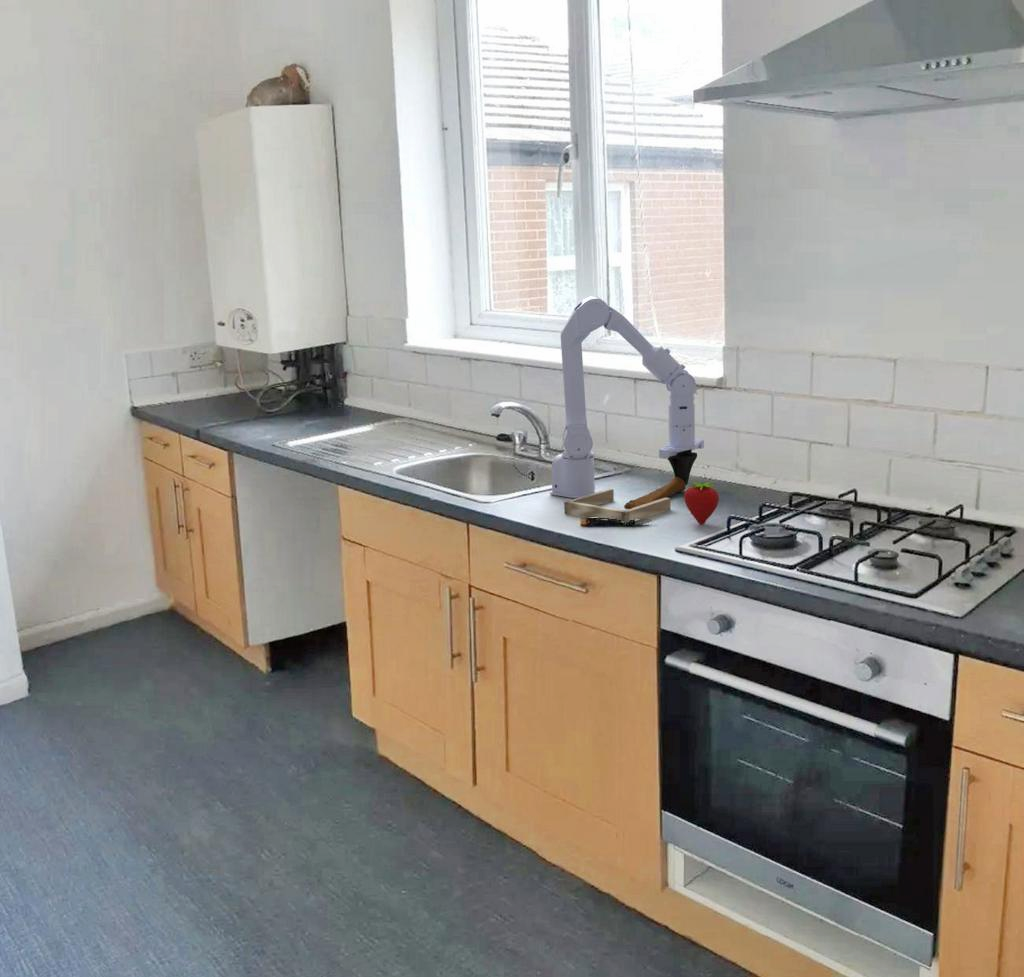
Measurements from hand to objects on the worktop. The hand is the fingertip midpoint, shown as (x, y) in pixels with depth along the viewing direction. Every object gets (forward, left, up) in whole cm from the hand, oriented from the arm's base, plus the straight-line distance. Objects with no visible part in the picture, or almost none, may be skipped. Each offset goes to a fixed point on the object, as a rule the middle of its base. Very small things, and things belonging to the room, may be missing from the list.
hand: (682, 484), depth 246 cm
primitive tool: (+1, -11, -2) cm, 11 cm away
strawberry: (+20, -22, -2) cm, 30 cm away
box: (0, -23, -1) cm, 23 cm away
